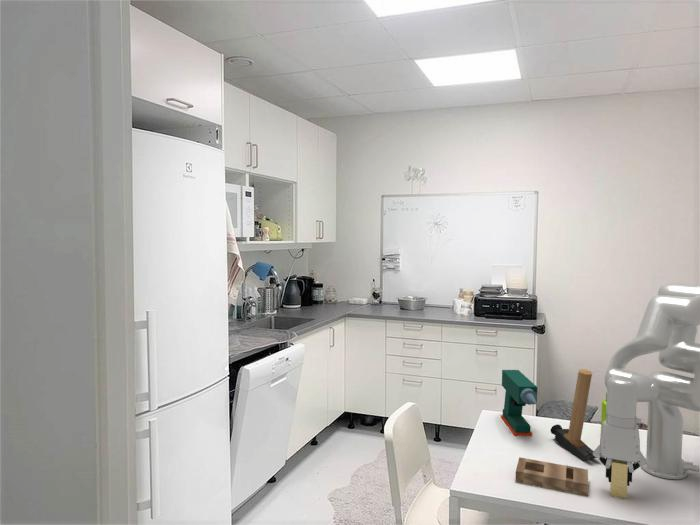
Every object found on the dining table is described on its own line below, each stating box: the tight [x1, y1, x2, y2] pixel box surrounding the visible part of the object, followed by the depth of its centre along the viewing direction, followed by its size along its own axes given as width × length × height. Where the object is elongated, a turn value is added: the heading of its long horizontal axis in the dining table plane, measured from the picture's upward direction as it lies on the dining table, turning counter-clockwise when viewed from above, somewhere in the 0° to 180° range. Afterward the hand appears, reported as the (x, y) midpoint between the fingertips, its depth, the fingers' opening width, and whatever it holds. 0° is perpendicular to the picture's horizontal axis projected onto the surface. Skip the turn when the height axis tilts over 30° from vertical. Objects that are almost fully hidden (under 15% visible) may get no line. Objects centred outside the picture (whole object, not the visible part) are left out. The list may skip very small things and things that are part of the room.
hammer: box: [549, 368, 601, 461], centre depth 172 cm, size 20×5×30 cm, turn 14°
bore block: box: [515, 456, 589, 497], centre depth 154 cm, size 20×10×4 cm, turn 66°
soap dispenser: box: [600, 391, 607, 430], centre depth 186 cm, size 6×7×20 cm
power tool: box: [500, 369, 538, 437], centre depth 189 cm, size 32×7×20 cm, turn 179°
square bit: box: [609, 459, 628, 500], centre depth 146 cm, size 4×4×10 cm
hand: (618, 481), depth 147 cm, fingers closed on square bit, 4 cm apart
